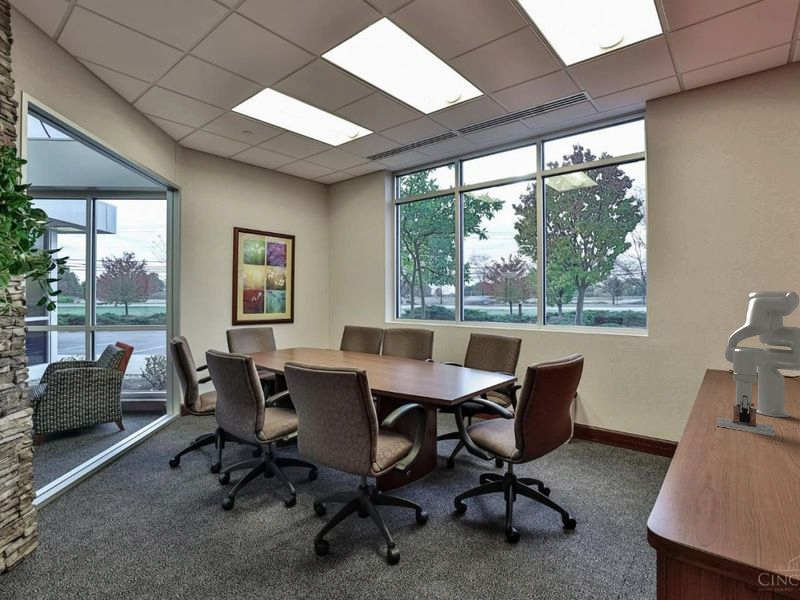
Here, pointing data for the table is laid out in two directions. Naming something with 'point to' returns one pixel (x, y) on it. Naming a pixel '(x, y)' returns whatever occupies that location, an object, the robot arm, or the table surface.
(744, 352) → the robot arm
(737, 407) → the lighter
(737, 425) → the track
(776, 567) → the table surface
